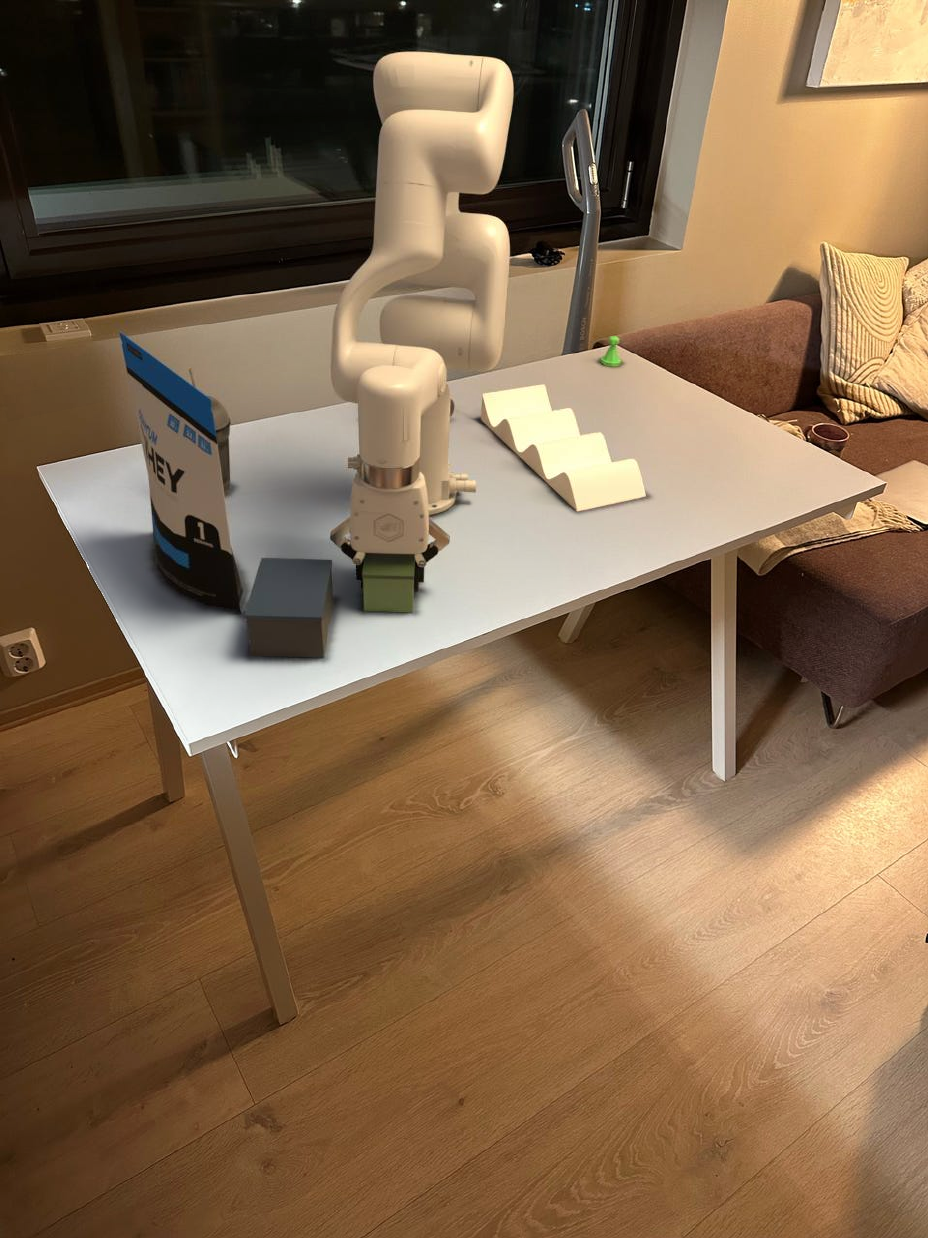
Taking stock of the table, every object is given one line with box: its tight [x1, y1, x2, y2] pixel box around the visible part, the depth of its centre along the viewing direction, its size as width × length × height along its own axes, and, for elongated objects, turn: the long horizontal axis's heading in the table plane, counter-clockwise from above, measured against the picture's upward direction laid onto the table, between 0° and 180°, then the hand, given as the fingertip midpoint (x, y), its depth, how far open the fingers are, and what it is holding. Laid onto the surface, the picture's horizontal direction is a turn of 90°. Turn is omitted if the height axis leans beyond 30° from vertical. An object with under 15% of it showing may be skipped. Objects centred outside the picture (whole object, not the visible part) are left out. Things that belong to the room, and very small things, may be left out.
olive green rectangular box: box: [362, 553, 415, 613], centre depth 119 cm, size 10×7×6 cm, turn 1°
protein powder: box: [118, 331, 244, 615], centre depth 113 cm, size 10×24×30 cm, turn 40°
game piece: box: [600, 335, 622, 368], centre depth 187 cm, size 4×4×6 cm
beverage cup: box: [188, 367, 231, 496], centre depth 133 cm, size 7×7×20 cm
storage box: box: [243, 557, 335, 659], centre depth 112 cm, size 12×9×6 cm
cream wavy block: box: [480, 383, 647, 513], centre depth 153 cm, size 13×35×5 cm, turn 25°
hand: (390, 583), depth 120 cm, fingers closed on olive green rectangular box, 6 cm apart
